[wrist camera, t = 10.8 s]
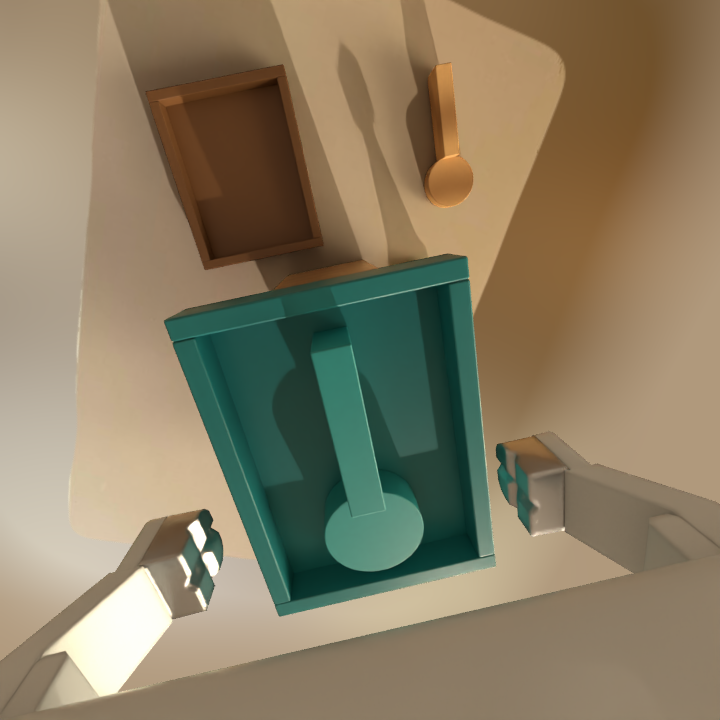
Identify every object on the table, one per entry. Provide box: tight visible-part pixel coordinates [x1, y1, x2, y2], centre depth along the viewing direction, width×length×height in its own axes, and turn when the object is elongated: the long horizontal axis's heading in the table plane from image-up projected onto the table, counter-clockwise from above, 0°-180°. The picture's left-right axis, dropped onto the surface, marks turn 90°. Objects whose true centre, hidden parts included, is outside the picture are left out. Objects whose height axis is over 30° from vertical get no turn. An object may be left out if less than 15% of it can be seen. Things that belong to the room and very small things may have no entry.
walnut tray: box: [146, 64, 323, 270], centre depth 33 cm, size 15×12×2 cm
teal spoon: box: [310, 326, 424, 571], centre depth 15 cm, size 11×4×3 cm, turn 11°
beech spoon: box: [424, 62, 473, 208], centre depth 33 cm, size 11×4×3 cm, turn 11°
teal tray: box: [164, 254, 496, 616], centre depth 16 cm, size 15×11×2 cm
